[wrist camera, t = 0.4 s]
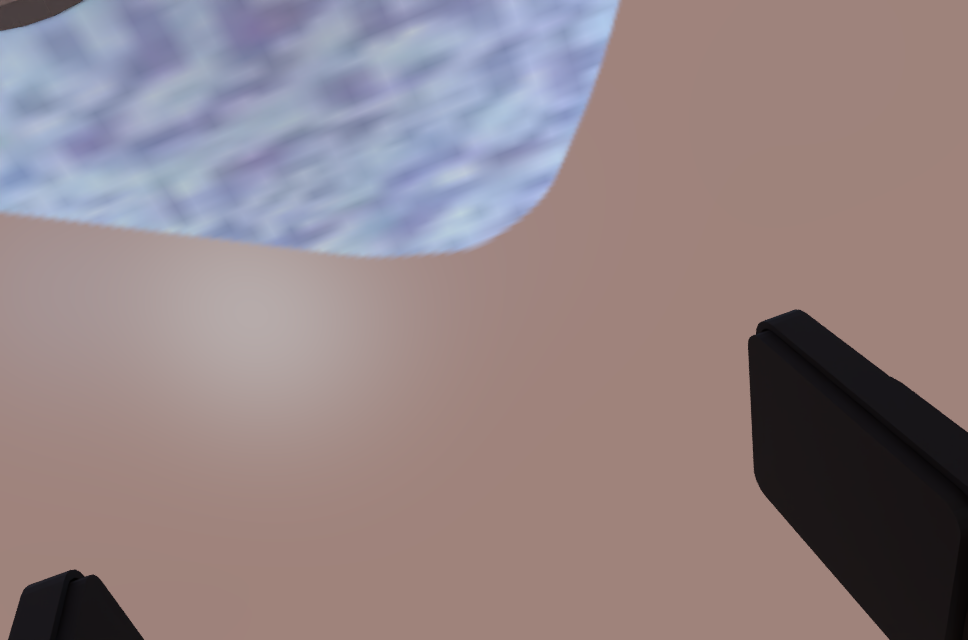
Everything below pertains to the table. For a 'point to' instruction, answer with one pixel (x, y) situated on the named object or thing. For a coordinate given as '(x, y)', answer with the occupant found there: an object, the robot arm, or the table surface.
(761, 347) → the robot arm
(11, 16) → the plinth
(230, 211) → the table surface
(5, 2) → the handwheel
